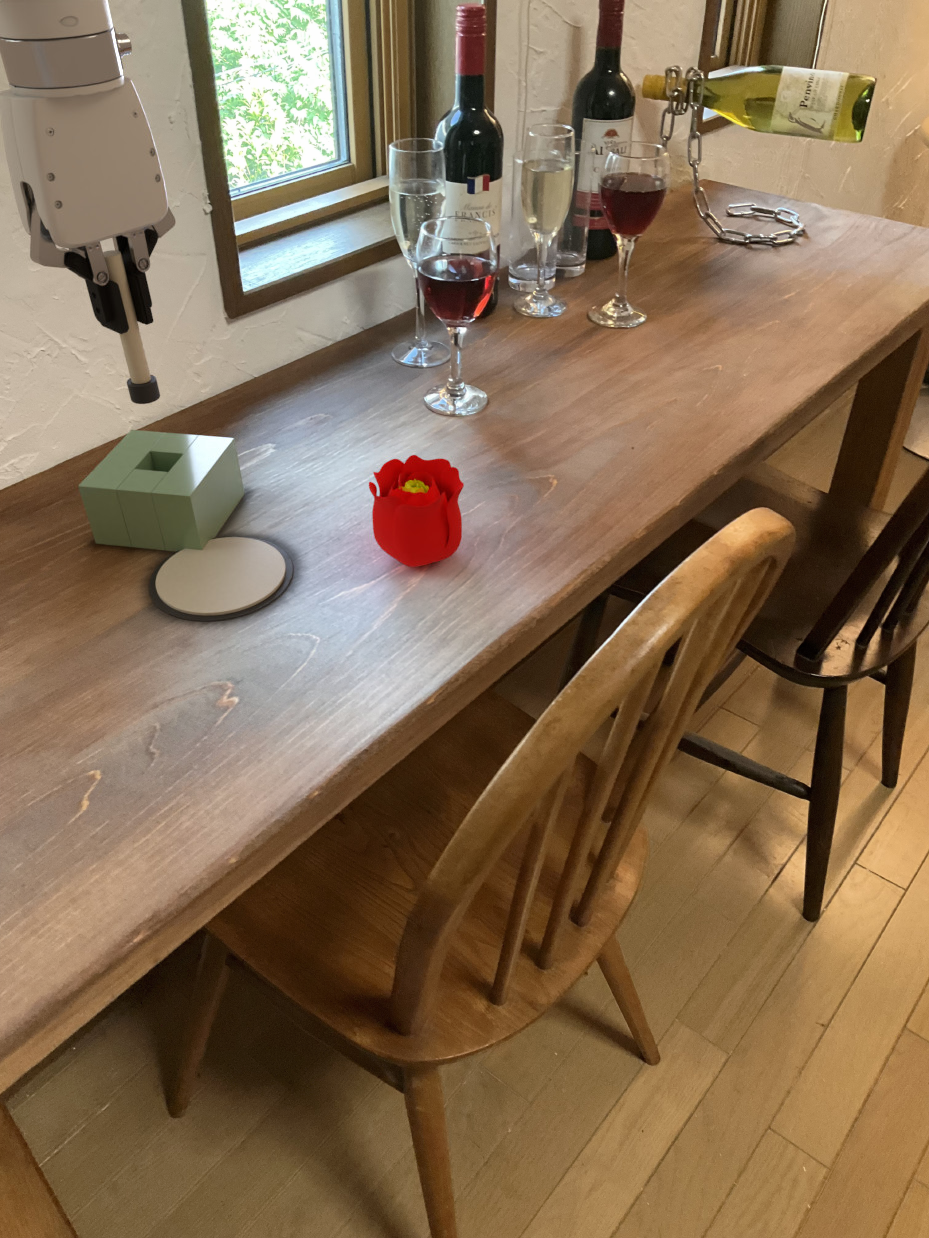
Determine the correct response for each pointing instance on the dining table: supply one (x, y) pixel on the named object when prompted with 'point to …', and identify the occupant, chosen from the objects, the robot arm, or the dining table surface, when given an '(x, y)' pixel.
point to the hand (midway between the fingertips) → (126, 323)
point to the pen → (132, 338)
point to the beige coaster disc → (221, 579)
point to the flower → (417, 510)
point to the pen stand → (163, 491)
